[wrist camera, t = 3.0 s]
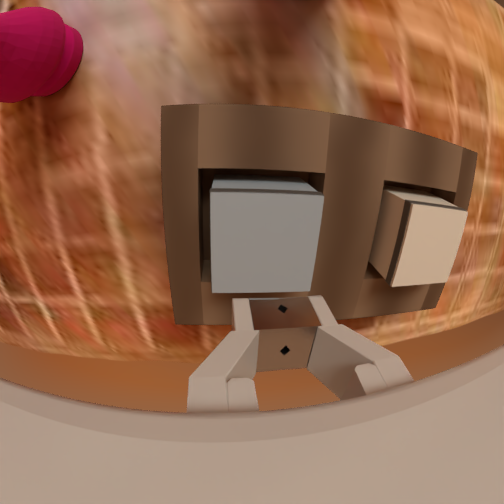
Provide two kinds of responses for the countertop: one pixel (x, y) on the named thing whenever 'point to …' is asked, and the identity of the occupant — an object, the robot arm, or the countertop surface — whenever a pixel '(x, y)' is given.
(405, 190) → the cream key
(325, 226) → the frame
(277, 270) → the slate key
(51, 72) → the pepper mill
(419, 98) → the countertop surface
